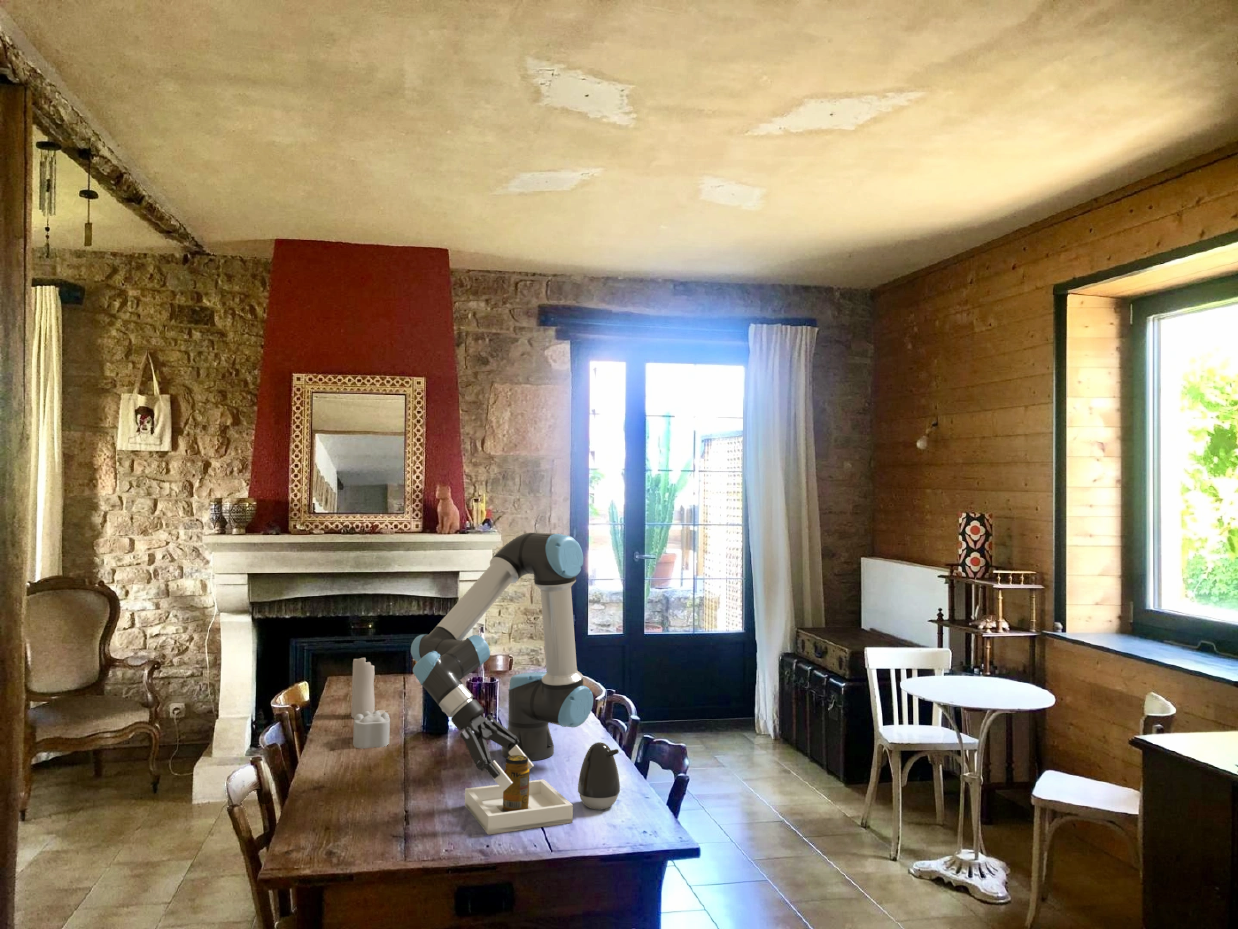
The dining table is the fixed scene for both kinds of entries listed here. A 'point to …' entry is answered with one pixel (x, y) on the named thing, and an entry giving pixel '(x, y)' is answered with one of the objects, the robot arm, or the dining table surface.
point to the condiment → (516, 784)
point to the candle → (363, 688)
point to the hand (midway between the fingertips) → (519, 778)
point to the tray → (542, 800)
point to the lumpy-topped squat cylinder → (371, 730)
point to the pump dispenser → (599, 777)
